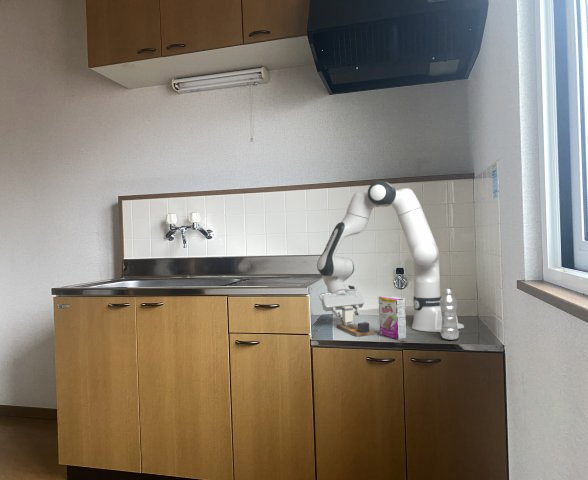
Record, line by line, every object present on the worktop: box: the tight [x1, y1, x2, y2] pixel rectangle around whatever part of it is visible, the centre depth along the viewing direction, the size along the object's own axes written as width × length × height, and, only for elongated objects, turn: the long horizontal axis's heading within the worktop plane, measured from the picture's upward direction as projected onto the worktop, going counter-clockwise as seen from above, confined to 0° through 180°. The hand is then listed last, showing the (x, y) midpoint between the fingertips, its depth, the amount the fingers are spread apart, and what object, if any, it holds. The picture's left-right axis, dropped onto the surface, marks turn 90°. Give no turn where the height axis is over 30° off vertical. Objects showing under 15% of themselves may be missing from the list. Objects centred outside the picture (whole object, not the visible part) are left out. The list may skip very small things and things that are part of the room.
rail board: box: [336, 317, 375, 338], centre depth 185 cm, size 8×20×4 cm, turn 19°
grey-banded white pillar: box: [341, 306, 354, 326], centre depth 191 cm, size 4×3×8 cm
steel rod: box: [347, 321, 370, 333], centre depth 185 cm, size 4×20×4 cm, turn 19°
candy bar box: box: [378, 295, 408, 341], centre depth 172 cm, size 11×5×16 cm, turn 30°
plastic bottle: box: [440, 287, 460, 341], centre depth 164 cm, size 6×7×20 cm
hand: (348, 315), depth 190 cm, fingers open, 8 cm apart
